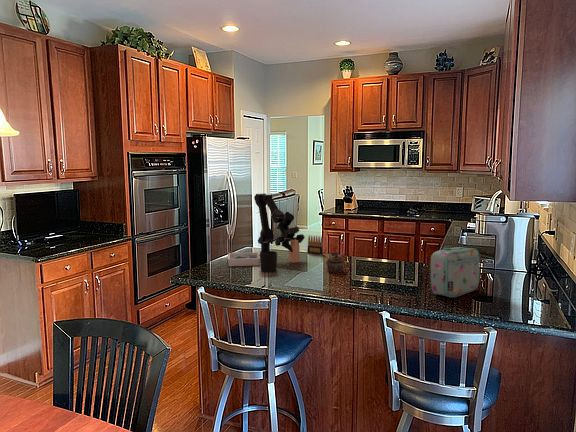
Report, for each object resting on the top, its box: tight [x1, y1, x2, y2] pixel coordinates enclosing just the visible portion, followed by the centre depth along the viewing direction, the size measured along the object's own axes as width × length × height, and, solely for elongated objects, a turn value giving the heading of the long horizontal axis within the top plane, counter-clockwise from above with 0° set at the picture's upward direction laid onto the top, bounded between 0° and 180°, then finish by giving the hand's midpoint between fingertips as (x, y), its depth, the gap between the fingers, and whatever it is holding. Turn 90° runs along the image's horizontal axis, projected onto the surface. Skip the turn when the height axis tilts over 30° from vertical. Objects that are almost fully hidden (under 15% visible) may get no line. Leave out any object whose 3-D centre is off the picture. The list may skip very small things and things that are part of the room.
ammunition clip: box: [307, 234, 324, 255], centre depth 284 cm, size 11×2×12 cm, turn 63°
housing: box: [227, 251, 260, 267], centre depth 259 cm, size 18×18×4 cm
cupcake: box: [325, 252, 344, 273], centre depth 238 cm, size 10×10×10 cm
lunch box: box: [429, 246, 481, 298], centre depth 196 cm, size 27×10×21 cm, turn 126°
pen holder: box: [259, 250, 278, 273], centre depth 239 cm, size 9×9×10 cm
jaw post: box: [288, 240, 301, 264], centre depth 260 cm, size 4×4×13 cm
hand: (295, 251), depth 259 cm, fingers closed on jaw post, 4 cm apart
